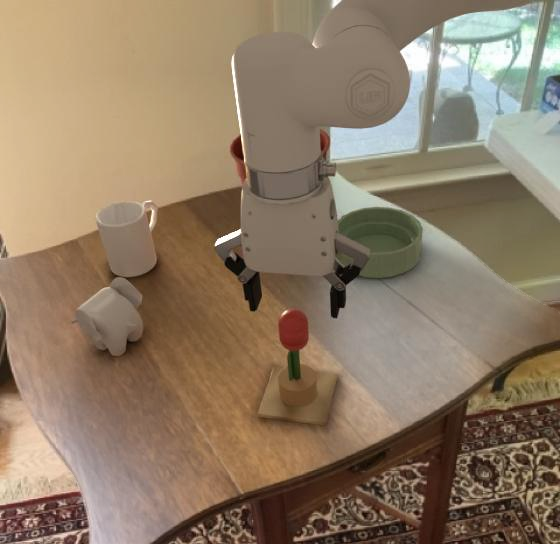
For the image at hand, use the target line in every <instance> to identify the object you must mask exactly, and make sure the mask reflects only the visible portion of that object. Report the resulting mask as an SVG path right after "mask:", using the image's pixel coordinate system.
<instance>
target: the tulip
mask: <svg viewBox="0 0 560 544" xmlns="http://www.w3.org/2000/svg"><path fill="white" fill-rule="evenodd" d="M277 323H278V324H277V327H278V336H279V337H278V338H279V342H280V344H281V345H282V347H283V348H285V349H286V350H287V354H286V360H287V366H285V367H283V368H284V369H282V370H281V371H280V373H279V375H278V386H279V395H280V398H281V400H282V401H283V402H284V403H285V404H287V405H289V406H293V407H302V406H306V405H308V404H310V403H311V402H313V401H314V399H315V398H316V396H317V381H316V373H315V370H314V369H313V368H312V367H311V366H309V365H306V364H302V363H301V359H300V358H301V357H300V351H301V350H303V349H304V348H306V346H307V344H308V342H309V339H310V333H309V332H310V330H309V320H308V317H307V315H306V314H305V313H304V312H303V311H302V310H300V309H298V308H288V309H286V310H284V311H283V312H282V313H281V314H280V316H279V318H278V321H277Z"/></svg>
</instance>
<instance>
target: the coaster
mask: <svg viewBox="0 0 560 544" xmlns="http://www.w3.org/2000/svg"><path fill="white" fill-rule="evenodd" d="M284 368H285V367H281V366H273V368H272V371H271V373H270V376H269V380H268V383H267V385H266V388H265V391H264V393H263V397H262V399H261V403H260V406H259V409H258V411H257V417H258V418H265V419H271V420H279V421H288V422H295V423H303V424H309V425H317V426H327V423H328V419H329V415H330V411H331V407H332V403H333V399H334V395H335V392H336V391H335V390H336V387H337V383H338V379H339V373H334V372H325V371H315V370H314V371H315V373H316V381H317V396H316V398H315V399H314V401H313V402H311V403H310V404H308V405H306V406H302V407H293V406H289V405H287V404H285V403H284V402H283V401H282V400H281V398H280V395H279V386H278V375H279V373H280V371H281V370H282V369H284Z"/></svg>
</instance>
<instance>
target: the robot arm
mask: <svg viewBox="0 0 560 544" xmlns="http://www.w3.org/2000/svg"><path fill="white" fill-rule="evenodd" d="M535 1H536V0H340V1H339V2H338V3H337V4H336V5H335V6H334V7H333V8H332V9H330V11H329V12H328V13H327V14H326V15H325V17H324V18H323V19H322V21H321V23H320V24H319V25H318V27H317V29H316V32H315V34H314V36H313V41H312V42H311V40H309V39H308V38H307V37H305V36H304V35H303V34H299V33H296V32H295V33H294V32H290V31H289V32H288V31H272V32H271V31H270V32H264V33H260V34H256V35H253V36H251V37H248V38H245V39H244V40H243V41H241V42H240V43H239V44H238V45H237V46H236V47H235V49H234V52H233V54H232V57H231V69H232V78H233V85H234V86H233V87H234V94H235V101H236V108H237V116H238V123H239V131H240V134H241V139H242V147H243V154H244V162H245V169H246V177H247V178H246V179H245V181H244V184H243V187H242V186H241V197H240V229H238V230H237V231H236V230H235V231H234V232H231V233H229V234H228V235H225V236H223V237H221V238H218V239H217V241H216V242H215V244H214V246H213V249H214V252H215V253H216V254H217V255H218V257H219V259H220V260H221V261H223V263H224V267H225V268H226V269H228V271H230V272H231V273H233V274H234V275H235V276H236V277H237V281H238V282H239V283H240V284H242V289H243V295H244V300H245V301H247V302H248V307H249V312H256V311H257V310H258V308H259V306H260V303H261V300H262V299H263V298H262V297H263V290H262V283H261V277H260V276H261V275H260V273H266V274H279V275H291V276H292V275H293V276H295V275H296V276H309V277H323V278H324V279H325V280H326V281H327V283H329V284H330V285H331V286H330V290H329V305H330V308H329V309H330V318H332V319H338V317H339V313H340V309H345V307H346V304H347V285H348V284H350V283H352V282H353V281H354V280H356V279H357V278H358V277H359V276H360V275H359V274H360V272H361V270H362V269H363V268H364V266H365V265H366V263H367V262H368V260H369V257H370V253H371V250H370V249H369V248H367V247H365V246H363V245H361V244H359V243H357V242H355V241H353V240H351V239H349V238H347V237H345V236H343V235H341V234H339V228H338V220H339V219H338V211H337V205H336V200H335V194H334V190H333V185H332V182H331V179H330V177H332V178H333V177H336V175H337V163H336V162H330V161H329V160H326V161H325V159H324V157H323V152H322V151H321V147H320V129H321V128H320V127H328V128H339V129H340V128H341V129H356V130H357V129H359V130H362V129H371V128H375V127H378V126H381V125H385V124H386V123H388V122H390V121H391V120H392V119H394V118H396V116H398V114H399V113H400V112H401V111H402V109H403V108H404V107H405V105H406V103H407V101H408V98H409V95H410V89H411V76H410V71H409V67H408V65H407V62H406V59H405V58H404V56H403V54H402V52H401V51H403V50H404V49H405V48H406V47H407V46H409V45H410V44H411V43H412V42H414V41H415V40H416V39H418V38H419V37H421V36H422V35H424V34H425V33H427V32H428V31H430V30H432V29H434V28H436V27H438V26H439V25H441V24H444V23H446V22H447V21H449V20H453V19H455V18H458V17H461V16H464V15H468V14H475V13H486V12H499V11H506V10H513V9H516V8H521V7H524V6H527V5H530V4H531V3H533V2H535ZM240 246H241V250H242V257H243V258H242V257H241V256H240V255H239V254H238V253H236V252H235V251H234V249H236V248H238V247H240ZM339 251H340V252H342V253H344V254H346V255H348V256H350V257H352V258H353V259H354V260H353V261H352V262H350V263H349V264H348V265H347V266H344V265H343V264H342V263H341V262H340V261H339V260H338V259H337V258H336V257H335V255H338V254H339Z"/></svg>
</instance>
